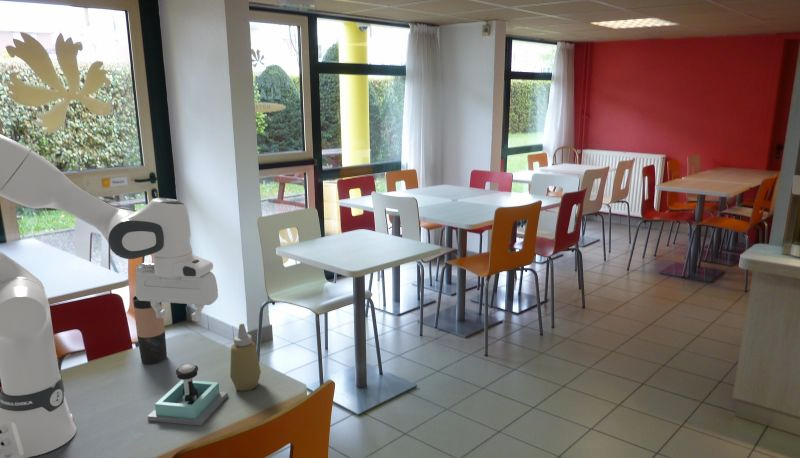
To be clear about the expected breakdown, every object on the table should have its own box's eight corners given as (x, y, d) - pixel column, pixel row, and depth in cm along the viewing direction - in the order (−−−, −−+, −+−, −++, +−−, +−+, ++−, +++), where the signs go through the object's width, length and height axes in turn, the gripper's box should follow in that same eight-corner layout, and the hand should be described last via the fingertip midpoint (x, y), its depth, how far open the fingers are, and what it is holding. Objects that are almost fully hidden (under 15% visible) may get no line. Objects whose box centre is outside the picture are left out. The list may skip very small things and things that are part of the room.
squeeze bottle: (243, 396, 152) (238, 333, 147) (224, 387, 156) (219, 325, 152) (267, 384, 158) (263, 323, 154) (248, 376, 163) (244, 316, 158)
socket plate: (148, 420, 141) (146, 405, 140) (178, 391, 154) (177, 377, 153) (201, 425, 139) (199, 409, 138) (227, 396, 152) (226, 381, 151)
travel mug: (172, 353, 177) (165, 292, 172) (159, 365, 170) (152, 301, 165) (148, 353, 178) (141, 291, 173) (135, 364, 170) (127, 300, 166)
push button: (195, 410, 143) (191, 373, 141) (173, 410, 143) (169, 373, 141) (204, 396, 150) (200, 361, 147) (183, 396, 150) (179, 361, 147)
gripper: (126, 266, 137) (132, 320, 140) (205, 270, 134) (210, 326, 137) (142, 259, 143) (148, 311, 146) (218, 263, 140) (222, 316, 143)
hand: (178, 318), depth 142 cm, fingers open, 8 cm apart
